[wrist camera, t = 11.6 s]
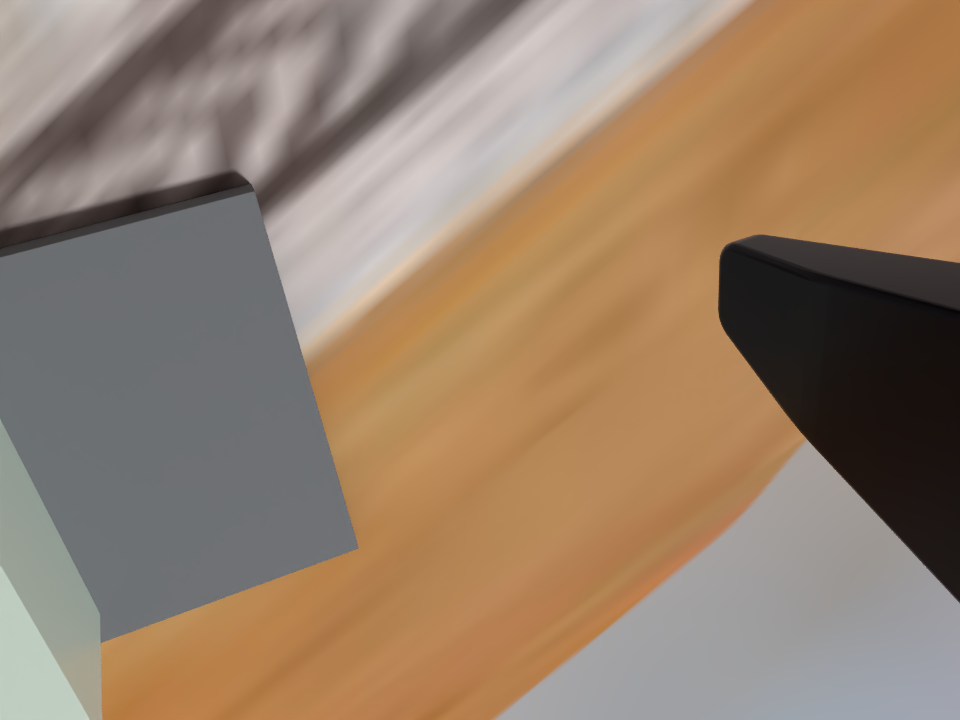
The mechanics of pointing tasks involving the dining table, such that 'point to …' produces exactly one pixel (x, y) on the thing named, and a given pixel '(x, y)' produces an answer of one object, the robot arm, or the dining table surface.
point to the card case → (42, 610)
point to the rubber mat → (167, 408)
